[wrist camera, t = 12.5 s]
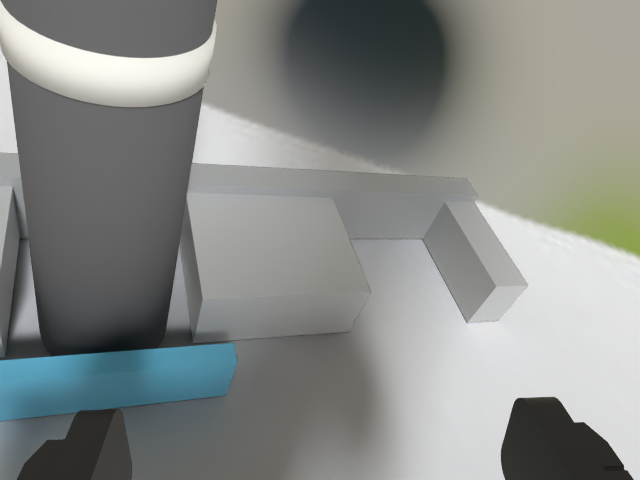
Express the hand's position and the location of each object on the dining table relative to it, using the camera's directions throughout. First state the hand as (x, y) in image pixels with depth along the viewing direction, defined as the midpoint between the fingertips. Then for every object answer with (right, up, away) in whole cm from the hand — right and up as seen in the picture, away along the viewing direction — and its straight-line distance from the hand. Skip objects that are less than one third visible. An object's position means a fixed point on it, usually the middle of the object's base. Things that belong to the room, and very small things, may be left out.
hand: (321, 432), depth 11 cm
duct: (-2, +1, +14) cm, 14 cm away
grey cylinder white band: (-9, +1, +11) cm, 14 cm away
